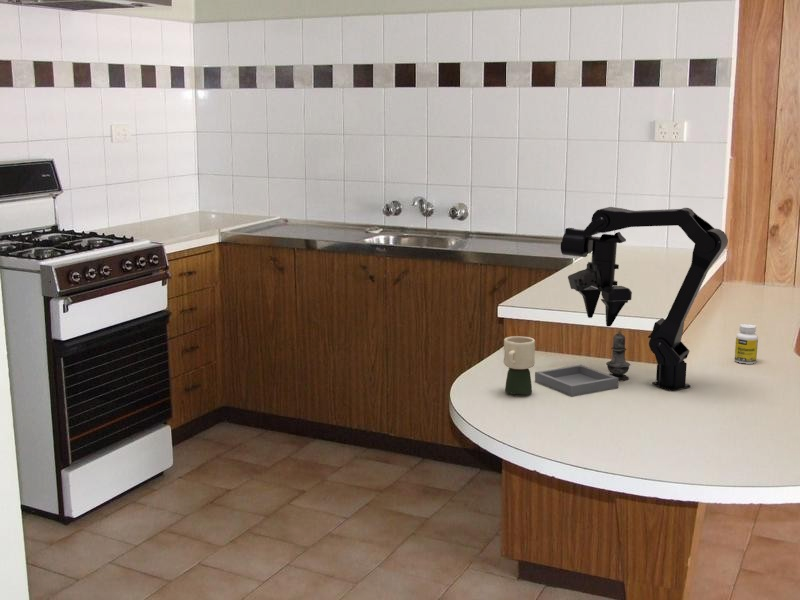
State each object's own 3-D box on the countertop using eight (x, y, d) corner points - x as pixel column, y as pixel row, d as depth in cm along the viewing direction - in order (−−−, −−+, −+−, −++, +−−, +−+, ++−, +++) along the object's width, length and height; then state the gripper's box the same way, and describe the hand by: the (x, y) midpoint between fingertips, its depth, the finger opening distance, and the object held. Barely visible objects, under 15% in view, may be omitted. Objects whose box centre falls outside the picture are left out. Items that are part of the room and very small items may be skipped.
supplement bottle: (733, 363, 242) (736, 326, 241) (734, 358, 247) (737, 322, 245) (756, 365, 240) (758, 328, 239) (756, 360, 245) (759, 324, 243)
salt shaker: (616, 382, 226) (618, 334, 224) (600, 376, 231) (602, 329, 229) (634, 379, 229) (637, 331, 227) (619, 373, 234) (620, 326, 232)
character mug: (513, 385, 224) (514, 333, 221) (541, 389, 220) (542, 336, 218) (494, 397, 215) (495, 342, 212) (523, 401, 211) (524, 346, 209)
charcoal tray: (618, 388, 221) (618, 378, 221) (571, 396, 215) (571, 386, 214) (580, 374, 233) (580, 364, 233) (534, 381, 227) (535, 372, 226)
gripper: (556, 253, 232) (552, 314, 236) (592, 267, 215) (588, 332, 218) (595, 252, 236) (591, 312, 239) (635, 265, 218) (630, 330, 221)
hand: (599, 321), depth 229 cm, fingers open, 9 cm apart
